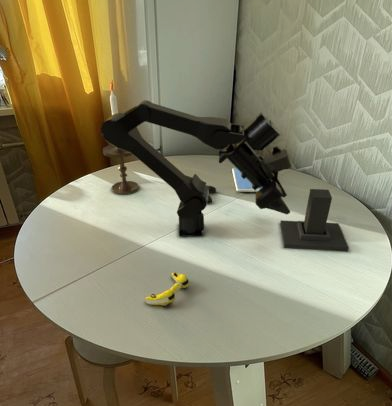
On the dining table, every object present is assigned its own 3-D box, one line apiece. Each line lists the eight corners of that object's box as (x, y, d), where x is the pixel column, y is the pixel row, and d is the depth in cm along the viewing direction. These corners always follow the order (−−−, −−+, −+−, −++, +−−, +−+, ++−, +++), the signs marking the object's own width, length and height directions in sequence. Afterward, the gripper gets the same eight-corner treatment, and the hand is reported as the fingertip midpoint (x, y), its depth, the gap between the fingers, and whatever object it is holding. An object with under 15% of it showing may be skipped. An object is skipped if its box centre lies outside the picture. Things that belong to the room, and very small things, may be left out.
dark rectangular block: (305, 237, 94) (312, 196, 87) (302, 228, 97) (310, 188, 91) (323, 238, 93) (332, 197, 87) (320, 229, 97) (328, 189, 90)
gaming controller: (213, 202, 111) (200, 189, 109) (201, 212, 114) (188, 199, 112) (218, 189, 119) (205, 176, 117) (206, 198, 122) (194, 186, 120)
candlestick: (125, 179, 128) (111, 75, 109) (147, 187, 123) (137, 78, 104) (102, 190, 121) (83, 81, 102) (125, 199, 116) (109, 85, 96)
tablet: (231, 170, 134) (231, 167, 133) (264, 170, 134) (265, 166, 133) (236, 193, 118) (236, 189, 117) (273, 192, 118) (274, 189, 117)
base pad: (284, 247, 92) (285, 239, 90) (280, 223, 102) (281, 215, 100) (347, 251, 90) (350, 242, 89) (337, 226, 100) (339, 218, 99)
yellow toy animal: (171, 311, 72) (164, 297, 71) (149, 309, 76) (143, 296, 75) (196, 284, 79) (191, 270, 78) (175, 283, 83) (170, 270, 82)
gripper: (276, 154, 75) (320, 203, 80) (271, 128, 90) (308, 170, 95) (237, 186, 80) (280, 230, 85) (238, 156, 96) (275, 195, 101)
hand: (287, 204), depth 91 cm, fingers open, 9 cm apart
